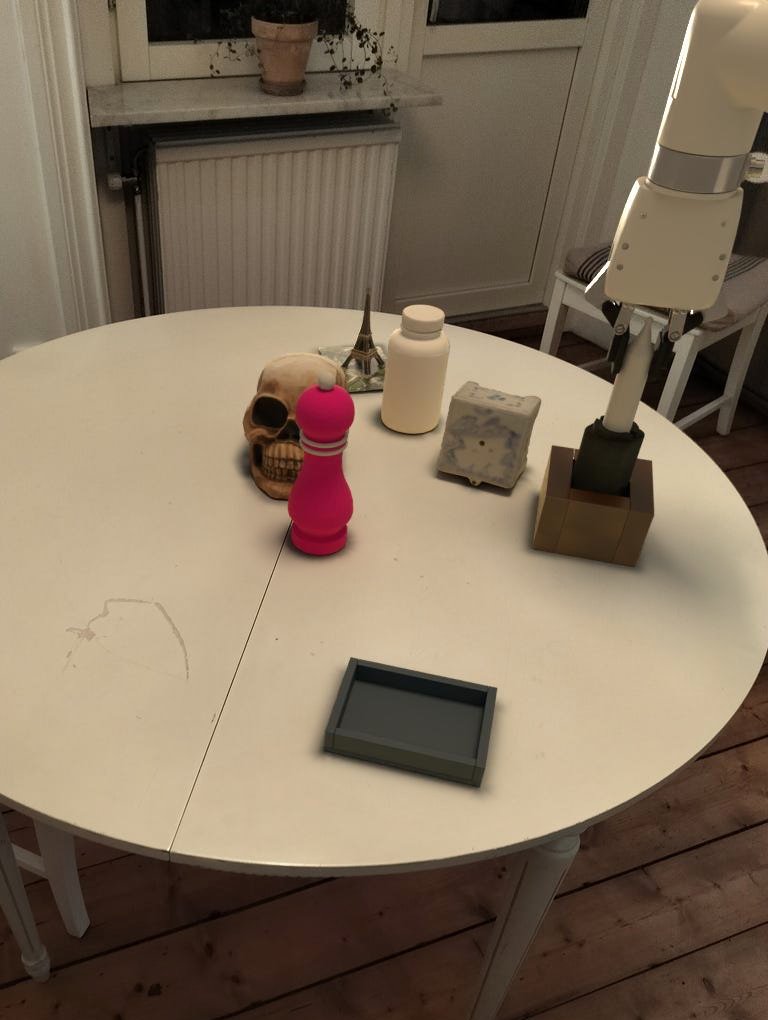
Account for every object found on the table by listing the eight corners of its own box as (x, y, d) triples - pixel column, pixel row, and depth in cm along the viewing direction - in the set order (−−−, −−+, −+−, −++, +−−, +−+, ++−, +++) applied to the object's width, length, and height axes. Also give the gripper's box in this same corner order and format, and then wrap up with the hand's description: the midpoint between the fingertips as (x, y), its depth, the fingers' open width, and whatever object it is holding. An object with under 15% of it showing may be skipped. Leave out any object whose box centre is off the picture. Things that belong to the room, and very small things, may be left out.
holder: (634, 511, 102) (652, 460, 98) (635, 567, 95) (654, 514, 90) (539, 495, 105) (552, 444, 100) (531, 548, 97) (545, 496, 92)
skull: (276, 505, 102) (274, 395, 94) (216, 451, 114) (210, 350, 106) (387, 477, 108) (394, 372, 100) (318, 429, 120) (320, 332, 112)
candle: (589, 548, 97) (658, 332, 80) (553, 527, 100) (612, 314, 83) (616, 531, 99) (688, 318, 82) (580, 511, 102) (642, 302, 85)
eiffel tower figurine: (316, 350, 133) (319, 261, 124) (379, 346, 135) (387, 258, 126) (336, 395, 123) (341, 302, 114) (405, 391, 124) (415, 298, 115)
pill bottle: (448, 416, 119) (465, 308, 108) (423, 441, 114) (438, 330, 103) (396, 401, 122) (408, 295, 111) (370, 425, 117) (379, 315, 106)
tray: (492, 706, 79) (497, 687, 77) (480, 787, 72) (485, 768, 71) (348, 675, 82) (350, 656, 80) (323, 750, 75) (324, 731, 73)
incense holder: (527, 465, 110) (545, 389, 103) (510, 498, 104) (528, 420, 97) (454, 447, 113) (466, 372, 106) (433, 477, 107) (445, 401, 100)
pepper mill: (278, 527, 99) (279, 362, 85) (335, 515, 101) (346, 352, 87) (300, 564, 94) (306, 395, 80) (361, 550, 96) (376, 383, 82)
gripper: (791, 167, 75) (716, 367, 87) (598, 150, 78) (552, 345, 91) (804, 191, 70) (722, 400, 82) (596, 172, 73) (548, 376, 85)
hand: (633, 369), depth 86 cm, fingers closed on candle, 3 cm apart
